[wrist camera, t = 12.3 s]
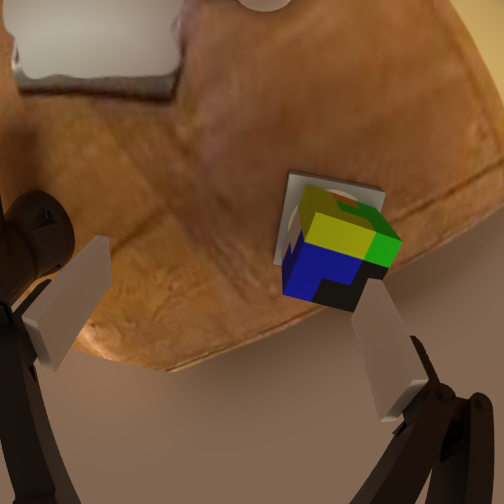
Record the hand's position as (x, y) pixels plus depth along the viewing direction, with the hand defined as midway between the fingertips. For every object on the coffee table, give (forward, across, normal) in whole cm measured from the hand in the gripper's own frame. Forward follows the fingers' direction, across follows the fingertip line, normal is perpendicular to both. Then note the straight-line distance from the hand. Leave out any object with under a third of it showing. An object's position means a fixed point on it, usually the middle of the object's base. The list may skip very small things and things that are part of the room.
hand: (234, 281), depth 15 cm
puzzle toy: (+25, +11, -7) cm, 28 cm away
